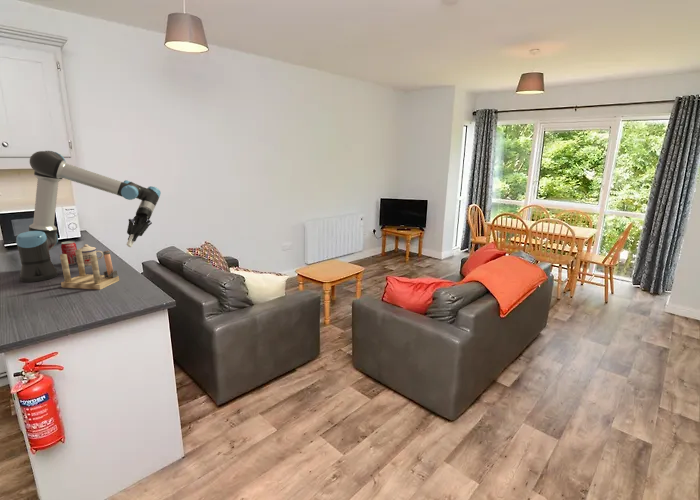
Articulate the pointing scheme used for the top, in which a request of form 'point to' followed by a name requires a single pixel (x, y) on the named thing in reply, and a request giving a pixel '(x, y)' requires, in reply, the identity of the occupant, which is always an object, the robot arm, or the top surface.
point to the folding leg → (108, 263)
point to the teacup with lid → (89, 254)
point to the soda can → (69, 251)
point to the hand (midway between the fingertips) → (128, 245)
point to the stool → (86, 279)
